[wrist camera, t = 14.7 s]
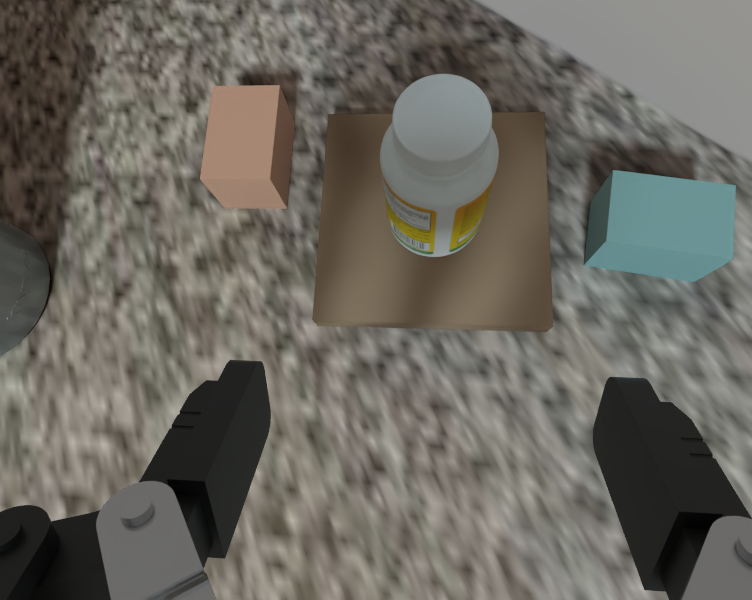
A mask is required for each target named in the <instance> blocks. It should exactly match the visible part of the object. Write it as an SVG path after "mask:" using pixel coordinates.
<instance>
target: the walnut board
mask: <svg viewBox="0 0 752 600" xmlns="http://www.w3.org/2000/svg"><path fill="white" fill-rule="evenodd" d="M392 115H393V114H328V127H327V140H326V153H325V165H324V178H323V191H322V204H321V217H320V230H319V243H318V256H317V269H316V282H315V295H314V308H313V321H314V322H315V323H316V324H317V325H318V326H351V327H388V328H425V329H463V330H500V331H537V332H547V331H548V330H549V329H551V328H552V327H553V308H552V284H551V260H550V235H549V211H548V187H547V162H546V138H545V114H544V112H495V113H492V126H491V127H492V129H493V131H494V133H495V135H496V138H497V142H498V148H499V159H498V165H497V170H496V173H495V177H494V180H493V183H492V186H491V190H490V193H489V196H488V200H487V203H486V207H485V210H484V214H483V218H482V221H481V224H480V227H479V229H478V231H477V233H476V234H475V236H474V237H473V238H472V240H471V241H470V242H469V243H468V244H467V245H465V246H464V247H463V248H462V249H460V250H459V251H457V252H455V253H452V254H449V255H446V256H441V257H428V256H422V255H418V254H416V253H414V252H411V251H410V250H408V249H407V248H405V247H404V246H403V245H402V244H401V243H400V242H399V241H398V240H397V239H396V238H395V236H394V234H393V233H392V231H391V228H390V226H389V222H388V217H387V209H386V203H385V195H384V187H383V180H382V173H381V165H380V150H381V145H382V141H383V138H384V135H385V133H386V131H387V129H388V128H389V126H390V125H391V123H392Z"/></svg>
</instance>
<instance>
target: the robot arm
mask: <svg viewBox="0 0 752 600" xmlns="http://www.w3.org/2000/svg"><path fill="white" fill-rule="evenodd" d="M49 283H50V274H49V265H48V262H47V259H46V256H45V254H44V251H43V250H42V248H41V247H40V245H39V244H38V242H37V241H36V240H35V239H34V238H32V237H31V236H30V235H29V234H28V233H27V232H25V231H23V230H21V229H19V228H17V227H15V226H13V225H11V224H10V223H8V222H6V221H4V220H2V219H0V356H1V355H3V354H4V353H6V352H8V351H9V350H11V349H12V348H14V347H15V346H16V345H17V344H18V343H19V342H20V341H21V340H22V339H24V338H25V337H26V335H27V334H28V333H29V332H30V330H31V329H32V328H33V327H34V325H35V324H36V322H37V320H38V319H39V317H40V315H41V313H42V311H43V309H44V306H45V303H46V300H47V296H48V292H49ZM270 420H271V410H270V403H269V396H268V390H267V383H266V377H265V370H264V366H263V363H262V362H261V361H242V360H230V361H229V362H228V363H227V364H226V366H225V368H224V370H223V372H222V374H221V376H220V378H219V380H218V381H209V380H206V381H205V382H204V383H203V384H201V385H200V386H199V387H198V388H197V389H195V390H194V391H193V392H192V393H191V394H190V395H189V396H188V398H187V400H186V401H185V403H184V405H183V407H182V408H181V410H180V414H179V415H177V417H176V419H175V421H174V422H173V424H172V428H171V429H169V431H168V433H167V434H166V436H165V438H164V440H163V441H162V443H161V445H160V447H159V448H158V450H157V452H156V454H155V455H154V457H153V459H152V461H151V462H150V464H149V466H148V468H147V469H146V471H145V473H144V475H143V476H142V478H141V480H140V481H139V483H135V484H133V485H130V486H128V487H126V488H124V489H122V490H120V491H119V492H117V493H116V494H115V495H113V496H112V497H111V498H110V499H109V500H108V501H107V502H106V503H105V504H104V506H103V507H102V509H101V510H100V511H96V512H93V513H89V514H84V515H79V516H75V517H70V518H66V519H61V520H56V521H52V522H51V520H50V518H49V516H48V514H47V513H46V511H45V510H43V509H42V508H40V507H37V506H31V505H24V506H17V507H13V508H10V509H7V510H4V511H2V512H0V600H216V597H215V595H214V592H213V589H212V587H211V584H210V582H209V579H208V577H207V574H206V573H205V572H204V570H203V569H204V566H205V563H206V561H207V558H208V557H212V558H225V557H226V554H227V551H228V548H229V545H230V543H231V540H232V537H233V534H234V531H235V528H236V525H237V523H238V520H239V517H240V514H241V511H242V508H243V505H244V502H245V500H246V497H247V494H248V491H249V488H250V485H251V482H252V480H253V477H254V474H255V471H256V468H257V465H258V462H259V459H260V457H261V454H262V451H263V448H264V445H265V442H266V439H267V436H268V433H269V428H270ZM593 445H594V450H595V454H596V457H597V460H598V463H599V465H600V468H601V471H602V474H603V476H604V479H605V482H606V485H607V487H608V490H609V493H610V496H611V499H612V501H613V504H614V507H615V510H616V512H617V515H618V518H619V521H620V523H621V526H622V529H623V532H624V534H625V537H626V540H627V543H628V546H629V548H630V551H631V554H632V557H633V559H634V562H635V565H636V568H637V570H638V573H639V576H640V579H641V582H642V584H643V587H644V590H653V591H666V592H667V595H668V598H669V600H752V518H751V517H750V515H749V513H748V512H747V510H746V508H745V507H744V505H743V504H742V502H741V500H740V499H739V497H738V495H737V494H736V492H735V490H734V489H733V487H732V485H731V484H730V482H729V481H728V479H727V477H726V476H725V474H724V472H723V471H722V469H721V467H720V466H719V464H718V463H717V461H716V459H713V457H712V455H713V454H712V453H711V451H710V449H709V448H708V446H707V444H706V443H705V442H703V438H702V436H701V435H700V433H699V431H698V430H697V428H696V426H695V425H694V423H693V422H692V420H691V419H690V418H689V417H688V416H687V415H685V414H684V413H683V412H682V411H681V410H680V409H678V408H677V407H676V406H675V405H674V404H673V403H671V402H660V400H659V399H658V397H657V395H656V393H655V391H654V390H653V388H652V386H651V384H650V383H649V381H648V380H647V379H644V378H623V377H610V378H608V380H607V382H606V384H605V388H604V391H603V395H602V398H601V402H600V406H599V409H598V413H597V416H596V420H595V424H594V429H593Z"/></svg>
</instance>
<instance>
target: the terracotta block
mask: <svg viewBox="0 0 752 600" xmlns="http://www.w3.org/2000/svg"><path fill="white" fill-rule="evenodd" d="M294 130H295V122H294V120H293V117H292V115H291V112H290V110H289V107H288V105H287V102H286V100H285V97H284V94H283V92H282V89H281V87H280V85H255V86H213V91H212V98H211V105H210V112H209V119H208V126H207V133H206V140H205V147H204V154H203V161H202V168H201V175H200V179H201V181H202V182H203V183H204V184H205V185H206V187H207V188H208V189H209V190H210V191H211V192H212V194H213V195H214V196H215V197H216V198H217V200H218V201H219V202H220V203H221V204H222V205H223V207H224V208H287V204H288V193H289V183H290V172H291V161H292V151H293V140H294Z"/></svg>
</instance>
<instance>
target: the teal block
mask: <svg viewBox="0 0 752 600" xmlns="http://www.w3.org/2000/svg"><path fill="white" fill-rule="evenodd" d="M735 192H736V185H728V184H721V183H713V182H705V181H697V180H689V179H681V178H673V177H665V176H657V175H650V174H642V173H634V172H626V171H618V170H613V171H612V172H611V174H610V175H609V176H608V178H607V179H606V181H605V182H604V184H603V185H602V186H601V188H600V189H599V191H598V192H597V194H596V195H595V196H594V198H593V199H592V201H591V202H590V211H589V221H588V230H587V240H586V249H585V259H584V265H585V266H592V267H598V268H605V269H611V270H618V271H625V272H631V273H638V274H644V275H651V276H658V277H664V278H671V279H677V280H684V281H690V282H695V281H697V280H698V279H700V278H702V277H703V276H705V275H707V274H709V273H710V272H712V271H714V270H715V269H717V268H719V267H721V266H722V265H724V264H726V263H727V262H729V261H731V260H732V259H733V253H734V222H735Z"/></svg>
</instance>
